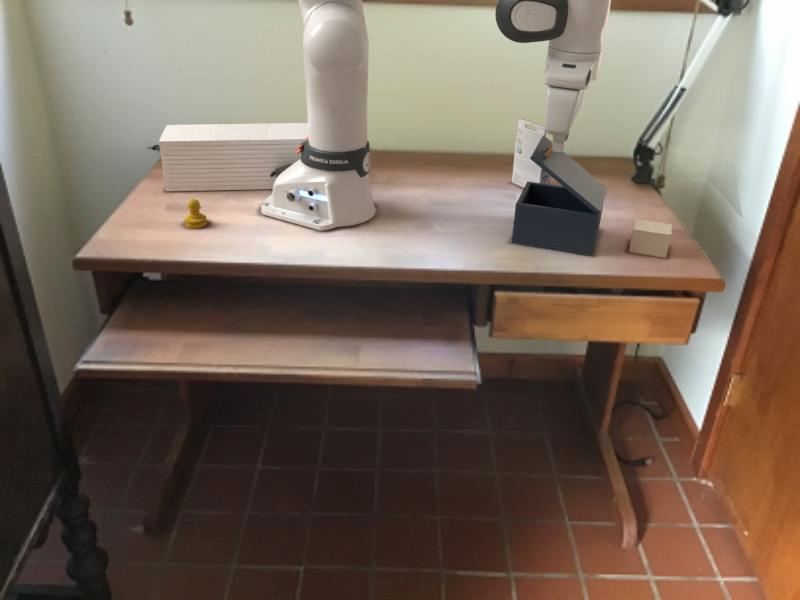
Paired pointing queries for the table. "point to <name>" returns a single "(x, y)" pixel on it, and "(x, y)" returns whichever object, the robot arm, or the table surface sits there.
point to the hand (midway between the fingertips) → (560, 145)
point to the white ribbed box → (228, 155)
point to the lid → (570, 175)
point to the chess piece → (195, 215)
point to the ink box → (528, 155)
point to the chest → (554, 220)
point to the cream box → (650, 238)
